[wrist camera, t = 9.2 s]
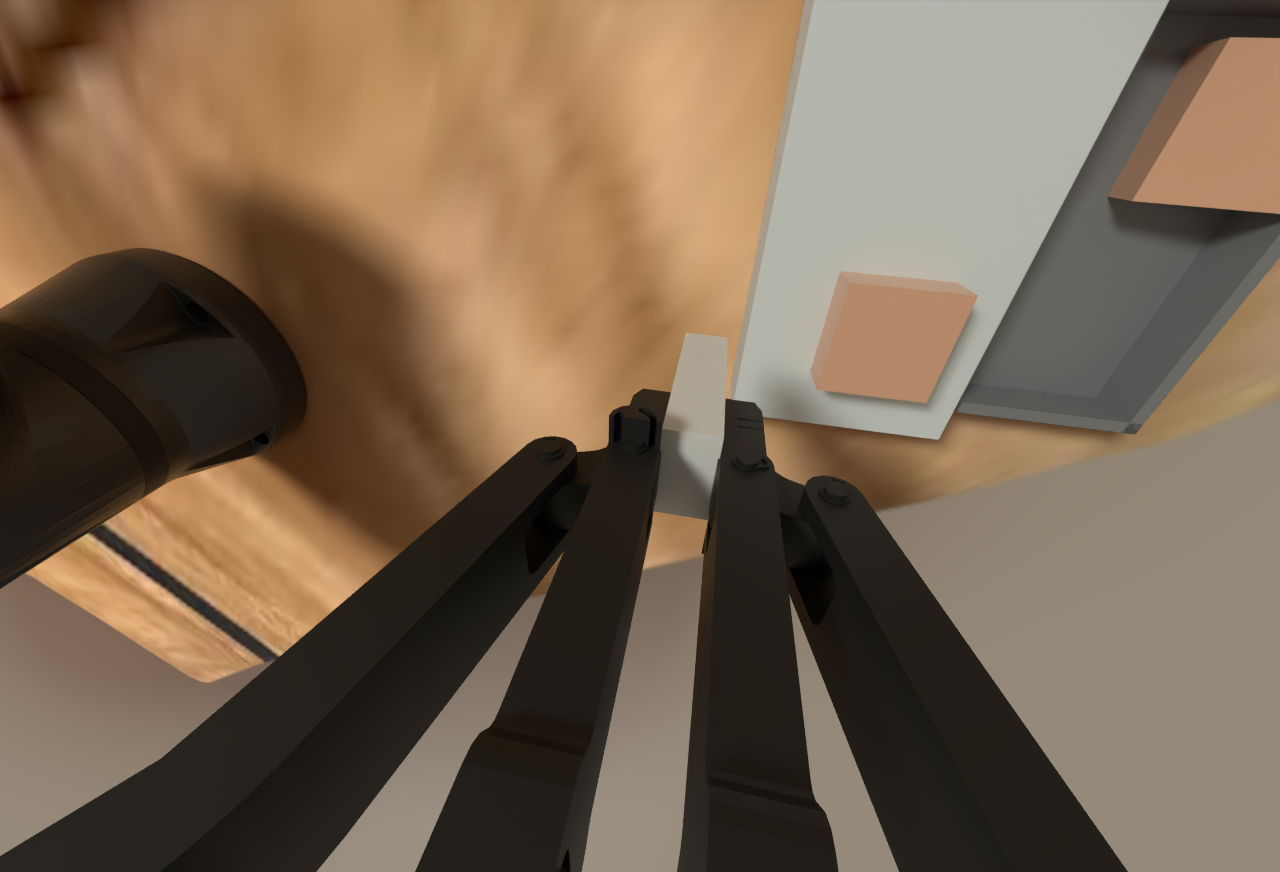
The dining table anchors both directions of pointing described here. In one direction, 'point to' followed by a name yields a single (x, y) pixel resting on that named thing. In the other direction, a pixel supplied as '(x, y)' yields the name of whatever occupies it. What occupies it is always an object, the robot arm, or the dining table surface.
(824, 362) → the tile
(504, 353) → the dining table surface
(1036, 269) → the tray
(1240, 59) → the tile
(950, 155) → the board
